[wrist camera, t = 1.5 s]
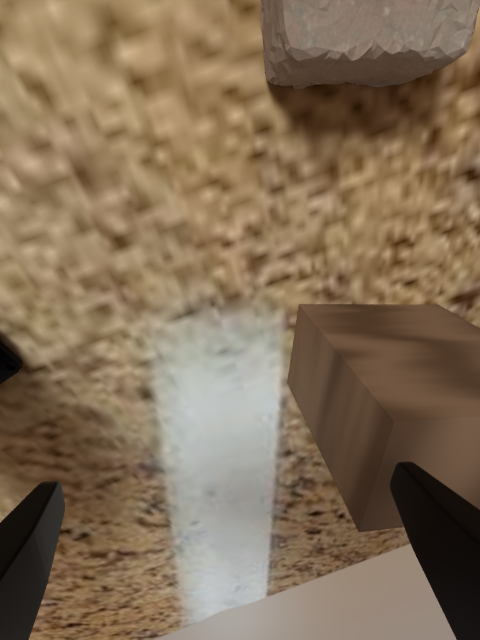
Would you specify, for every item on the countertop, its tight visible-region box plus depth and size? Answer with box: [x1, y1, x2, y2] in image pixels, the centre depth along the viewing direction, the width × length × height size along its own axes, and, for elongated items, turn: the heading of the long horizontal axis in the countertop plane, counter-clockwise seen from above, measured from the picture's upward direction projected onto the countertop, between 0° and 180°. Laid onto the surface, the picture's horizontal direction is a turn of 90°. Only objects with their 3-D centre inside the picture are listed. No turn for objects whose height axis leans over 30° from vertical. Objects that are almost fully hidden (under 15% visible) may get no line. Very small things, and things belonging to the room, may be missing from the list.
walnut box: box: [287, 304, 480, 532], centre depth 19 cm, size 10×6×11 cm, turn 86°
